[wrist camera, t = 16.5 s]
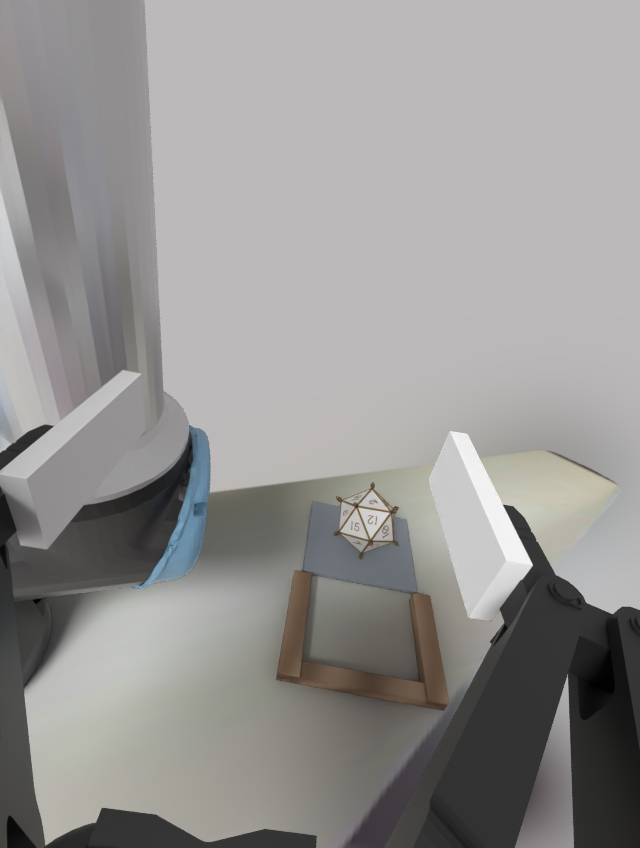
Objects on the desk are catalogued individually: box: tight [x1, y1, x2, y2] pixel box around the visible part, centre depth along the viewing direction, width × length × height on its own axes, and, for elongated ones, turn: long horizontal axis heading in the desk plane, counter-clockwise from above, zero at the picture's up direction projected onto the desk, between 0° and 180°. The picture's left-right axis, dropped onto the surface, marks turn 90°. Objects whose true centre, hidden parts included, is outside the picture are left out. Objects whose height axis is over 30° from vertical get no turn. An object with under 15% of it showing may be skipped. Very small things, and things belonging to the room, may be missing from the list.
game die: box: [333, 482, 399, 560], centre depth 49 cm, size 9×8×10 cm
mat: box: [303, 502, 417, 594], centre depth 51 cm, size 14×12×1 cm
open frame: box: [276, 570, 449, 711], centre depth 40 cm, size 16×11×2 cm
